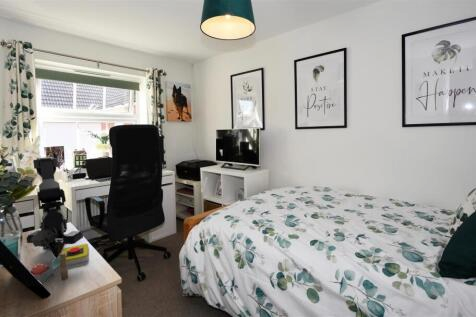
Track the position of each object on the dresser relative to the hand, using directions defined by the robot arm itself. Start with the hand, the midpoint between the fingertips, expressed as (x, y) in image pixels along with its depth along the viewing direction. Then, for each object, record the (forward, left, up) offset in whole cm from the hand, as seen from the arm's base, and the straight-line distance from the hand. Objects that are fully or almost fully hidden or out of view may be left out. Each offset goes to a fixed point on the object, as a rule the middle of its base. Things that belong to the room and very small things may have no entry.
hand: (57, 257), depth 102 cm
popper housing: (+12, +3, -2) cm, 12 cm away
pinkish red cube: (+12, +3, 0) cm, 12 cm away
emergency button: (-3, +5, -2) cm, 6 cm away
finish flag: (+12, +11, -1) cm, 16 cm away
